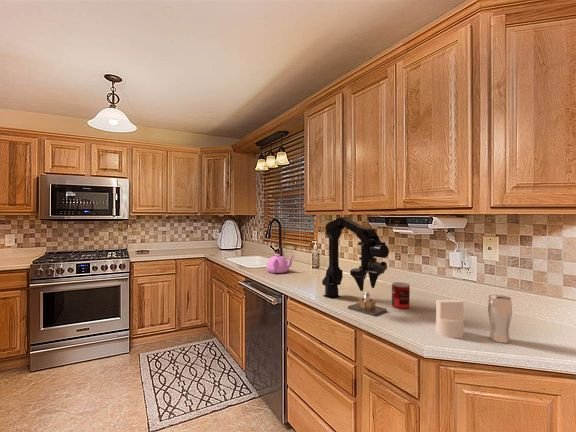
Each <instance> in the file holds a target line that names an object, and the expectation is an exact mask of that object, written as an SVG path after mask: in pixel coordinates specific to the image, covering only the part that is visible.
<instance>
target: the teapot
mask: <svg viewBox="0 0 576 432" xmlns="http://www.w3.org/2000/svg"><path fill="white" fill-rule="evenodd" d="M294 256H295V255H291V256H289V260H287V259H286V258H285V256H283V255H282V256H281V255H280V253H275V254H274V256H271V257H270V258H269V260H268V261H267V263H266V266H265V267H266V271H267V272H268V273H271V274H284V273H287V272H288V270H289V268H291V267H292V263H293V262H292V261H293V258H294Z"/></svg>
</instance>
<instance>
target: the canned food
mask: <svg viewBox="0 0 576 432" xmlns="http://www.w3.org/2000/svg"><path fill="white" fill-rule="evenodd" d="M410 290H411V289H410V283H406V282H399V281H397V282H395V281H394V282H392V284H391V306H392V307H393V308H394V309H396V310H408V309H409V308H410V305H411V304H410V300H411V298H410Z"/></svg>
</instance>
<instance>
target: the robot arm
mask: <svg viewBox="0 0 576 432" xmlns="http://www.w3.org/2000/svg"><path fill="white" fill-rule="evenodd" d="M324 229H325V234H326V236H327V238H328V263H329V264H328V267H327V269H326V271H325V276H324V278H323V279H322V281H321V283H322V286H324V288H325V289H324V294H323V297H325V298H329V299H336V298H339V297H340V296H341V295H339V286H341V283H342V280H343V278H344V276H343V269H341V268H340V265H339V262H340V261H339V260H340V259H339V239H340V237H341V235H342V230H344V229H347V230H349V231H351V232H353V233H354V234H355V236H356V237H357V238H358V239H359V242H358V243H357V245H358V246H360V257H358V260H360V265H359V266H358V268H357V267H356V268H355V267H354V268H351V269H350V271H349V272H350V276H352V278H353V279H354V281H355V283H356V285H357V287H358V289H359V291H360V292H363V291H364V284H365V280H366V279H367V275H368V278H369V283H370V286H371V288H372V289H374V288H375V286H376V283H377V280H378V278H379V276H381V275H382V274H385V271H386V270H388V264H387V262H386V261H381V262H378V261H377V258H382V259H386V258H387V257H389V253H390V249H389V247H388V246H387V245H386V242H385V241H381V240H380V239H381V238H380V237H379V235H378V234H377V232H376V231H377V230H376V229H375V228H373V227H370V226H364V225H361V224H359V223H357V222H355V221H353V220H351V219H350V218H348V217H346V216H340V217H338V218H336V219H334V220H331V221H329V222H327V223H326V224H325V228H324Z"/></svg>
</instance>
